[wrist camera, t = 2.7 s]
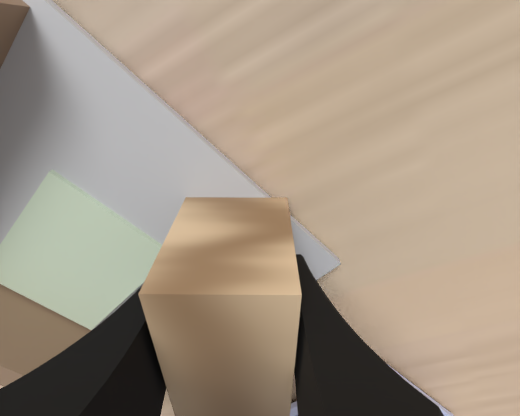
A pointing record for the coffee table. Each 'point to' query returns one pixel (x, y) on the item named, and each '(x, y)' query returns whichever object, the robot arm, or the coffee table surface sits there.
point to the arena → (89, 184)
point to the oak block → (226, 307)
